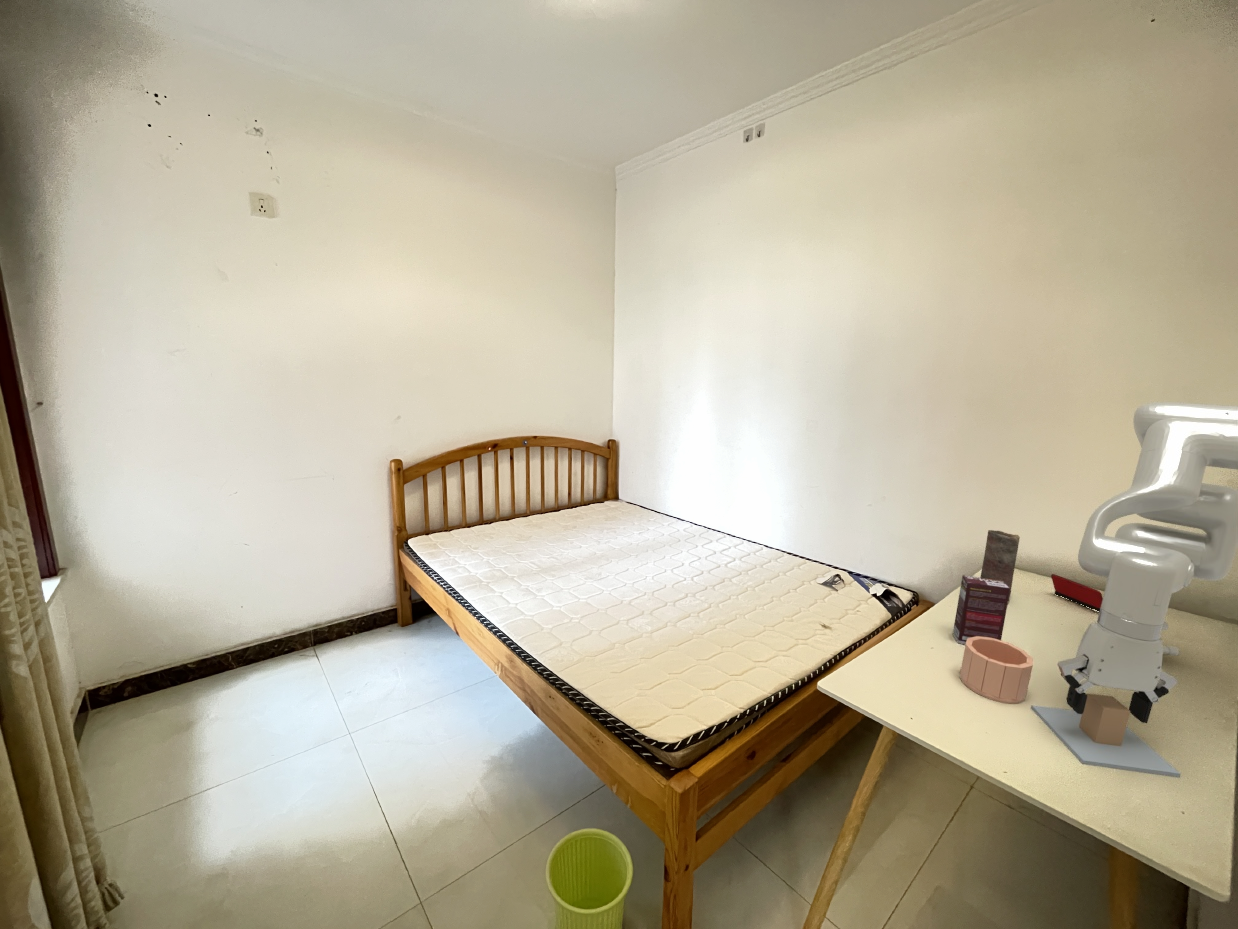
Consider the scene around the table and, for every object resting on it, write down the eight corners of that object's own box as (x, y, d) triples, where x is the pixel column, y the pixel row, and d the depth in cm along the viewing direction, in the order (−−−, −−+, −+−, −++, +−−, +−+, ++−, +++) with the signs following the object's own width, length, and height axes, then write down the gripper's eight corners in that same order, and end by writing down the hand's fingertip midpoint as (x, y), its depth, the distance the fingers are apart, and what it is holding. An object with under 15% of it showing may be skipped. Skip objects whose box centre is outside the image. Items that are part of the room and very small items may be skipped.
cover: (1112, 720, 95) (1122, 682, 94) (1178, 780, 82) (1191, 736, 80) (1030, 710, 98) (1038, 673, 96) (1081, 766, 84) (1092, 724, 82)
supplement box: (991, 640, 121) (1004, 579, 118) (999, 651, 117) (1012, 588, 114) (950, 633, 124) (961, 574, 121) (956, 643, 120) (968, 582, 116)
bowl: (1006, 673, 108) (1013, 640, 107) (1037, 707, 98) (1046, 670, 96) (950, 666, 110) (956, 634, 109) (975, 699, 100) (982, 663, 98)
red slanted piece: (1122, 613, 138) (1128, 588, 136) (1094, 617, 135) (1100, 591, 133) (1071, 592, 149) (1077, 569, 148) (1045, 596, 147) (1050, 572, 145)
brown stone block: (970, 592, 147) (982, 528, 143) (993, 592, 148) (1006, 528, 144) (991, 605, 140) (1004, 537, 135) (1015, 604, 140) (1029, 537, 136)
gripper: (1168, 620, 87) (1144, 707, 90) (1056, 608, 90) (1037, 692, 93) (1210, 643, 80) (1182, 736, 83) (1086, 629, 83) (1064, 720, 86)
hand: (1105, 713), depth 88 cm, fingers open, 9 cm apart
